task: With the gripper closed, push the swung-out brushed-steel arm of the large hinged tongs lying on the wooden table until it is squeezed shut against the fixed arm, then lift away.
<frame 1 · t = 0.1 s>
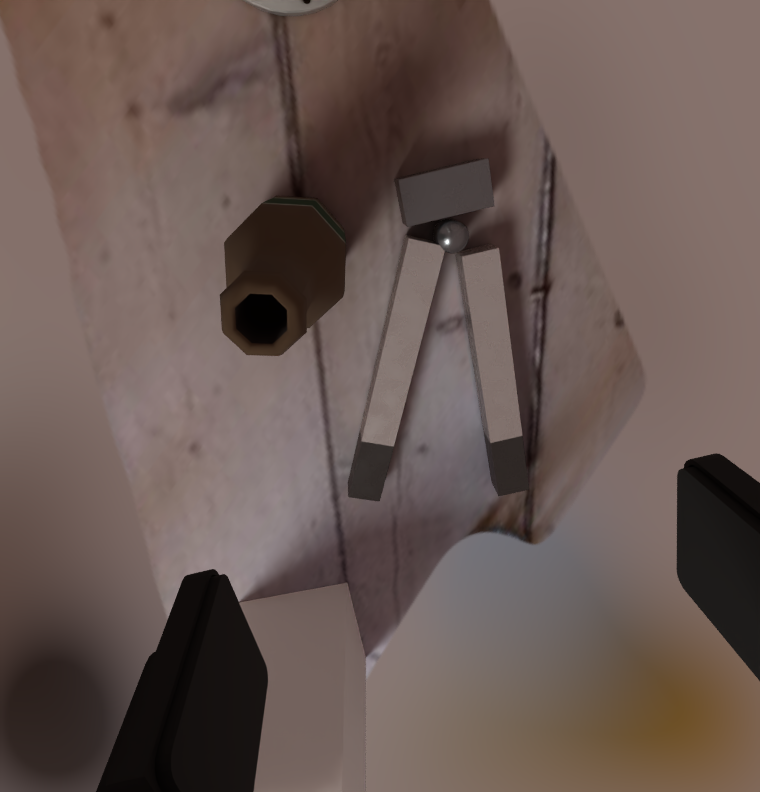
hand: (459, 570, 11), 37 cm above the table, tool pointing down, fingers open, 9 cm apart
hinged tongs: (446, 233, 44), on the table
tongs arm: (402, 369, 47), point 2 cm above the table, hinge at -25.0°
beer bottle: (299, 242, 44), on the table
milk: (304, 629, 60), on the table
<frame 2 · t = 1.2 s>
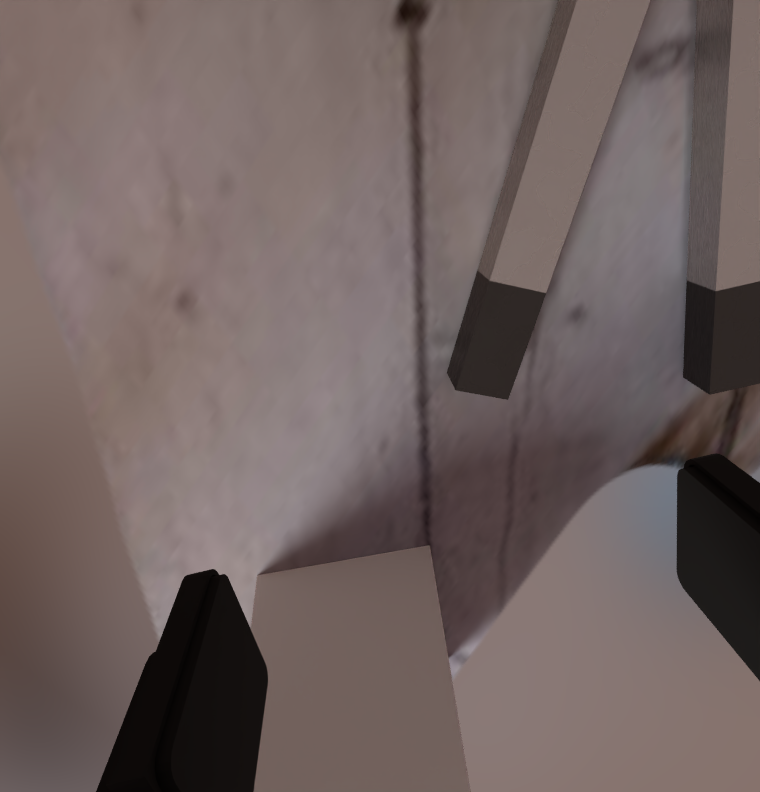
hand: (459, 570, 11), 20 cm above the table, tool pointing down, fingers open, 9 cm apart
tongs arm: (574, 138, 25), point 2 cm above the table, hinge at -25.0°
milk: (357, 617, 39), on the table
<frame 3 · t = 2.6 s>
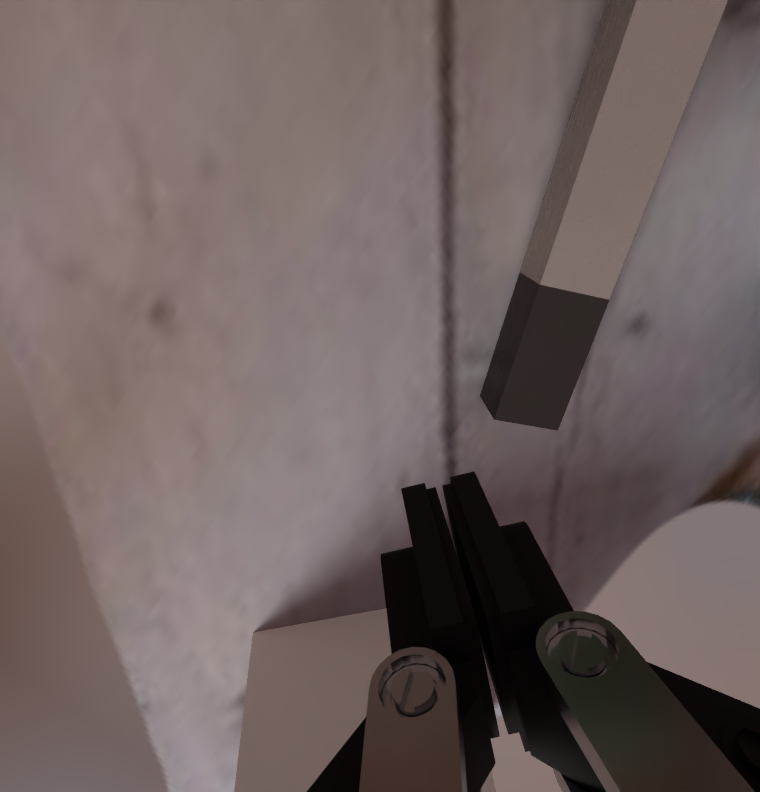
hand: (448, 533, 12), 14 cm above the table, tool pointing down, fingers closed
tongs arm: (649, 104, 20), point 2 cm above the table, hinge at -25.0°
milk: (370, 677, 34), on the table
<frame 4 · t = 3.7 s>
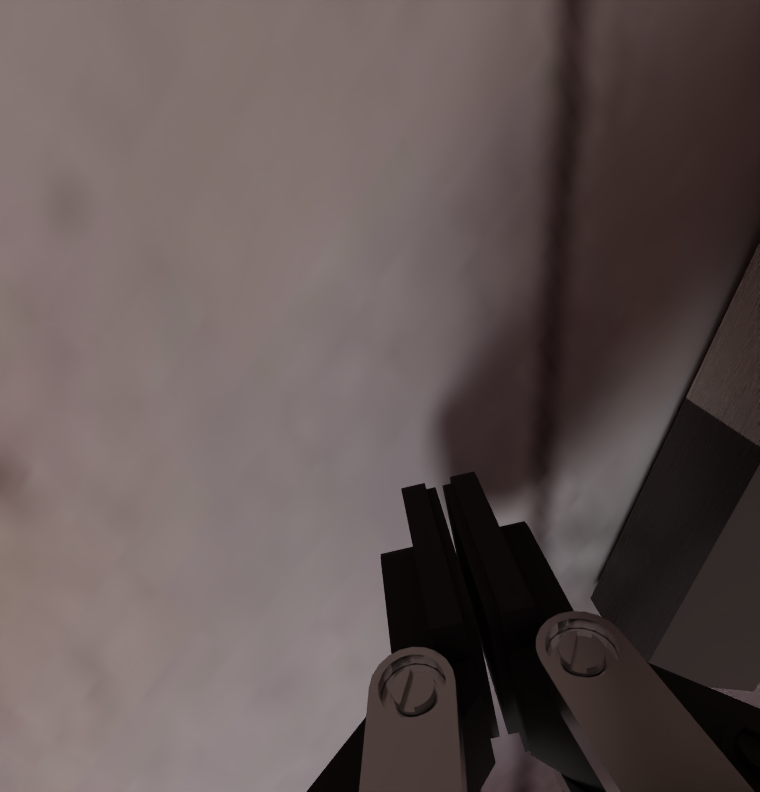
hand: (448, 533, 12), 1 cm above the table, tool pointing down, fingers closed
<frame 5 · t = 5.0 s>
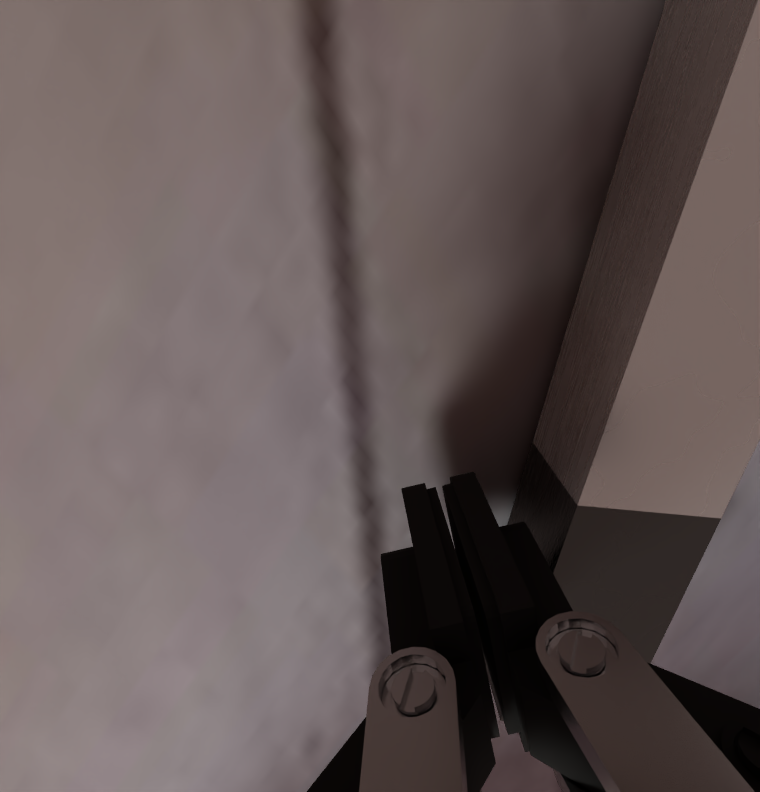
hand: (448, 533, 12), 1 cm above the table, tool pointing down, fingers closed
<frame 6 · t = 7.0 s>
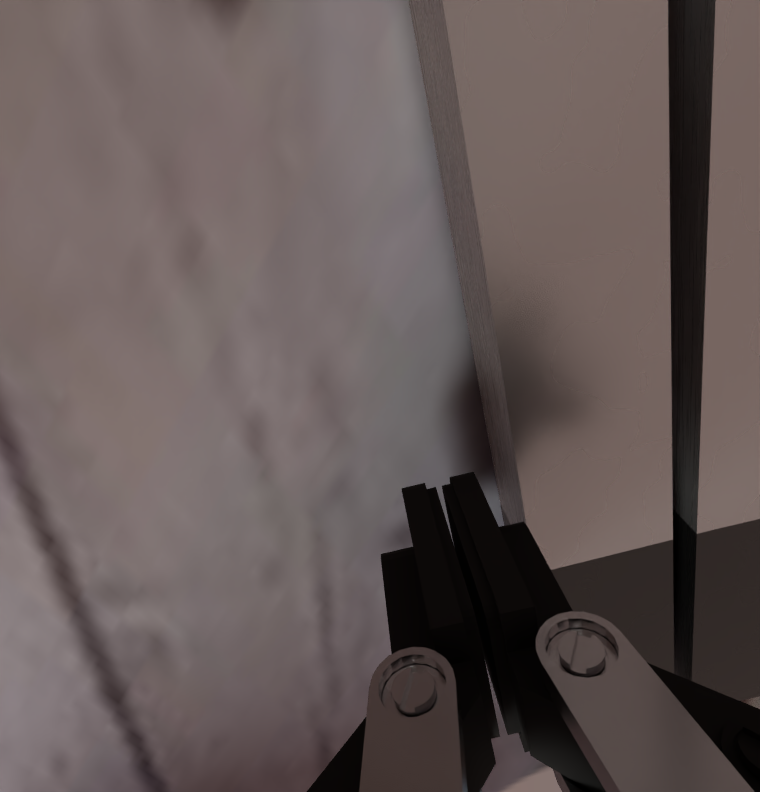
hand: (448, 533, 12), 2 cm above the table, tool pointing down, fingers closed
tongs arm: (590, 202, 9), point 2 cm above the table, hinge at 0.9°, touching gripper
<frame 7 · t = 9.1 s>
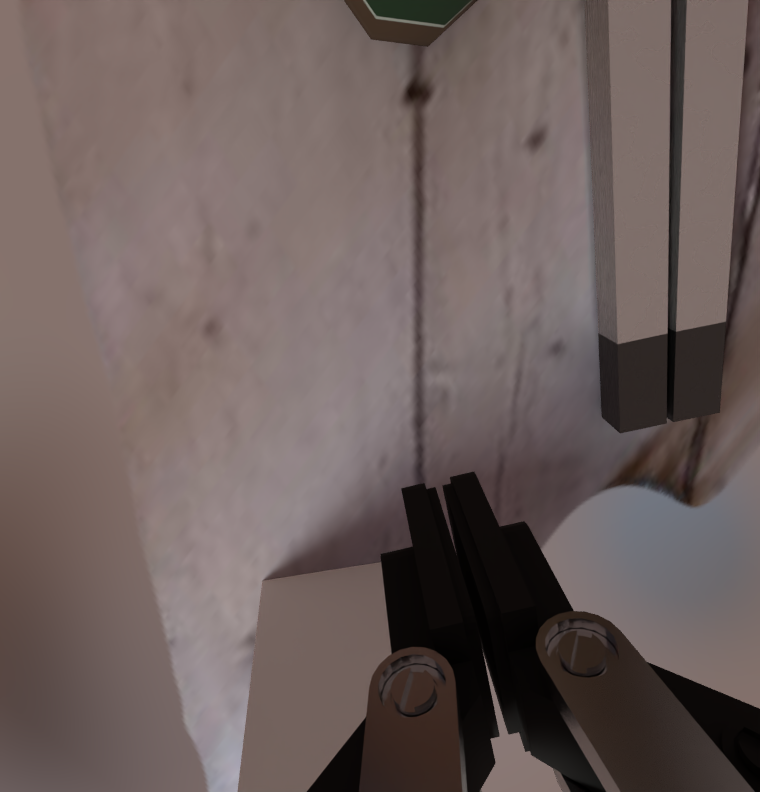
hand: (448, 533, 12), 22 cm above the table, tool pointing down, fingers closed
tongs arm: (643, 211, 30), point 2 cm above the table, hinge at 0.9°
milk: (354, 624, 42), on the table
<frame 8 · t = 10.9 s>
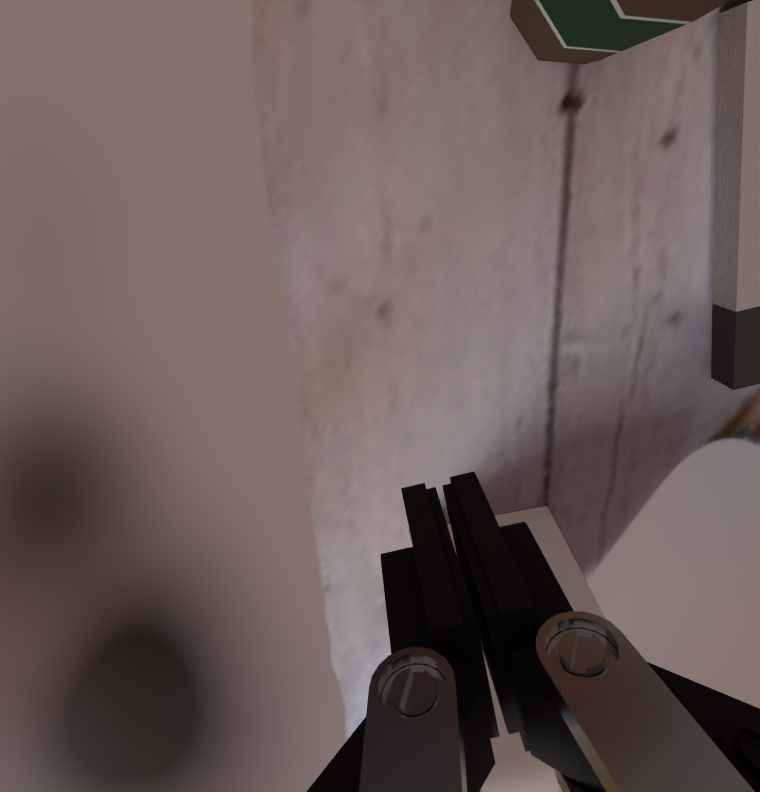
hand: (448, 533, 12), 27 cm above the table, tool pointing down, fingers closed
milk: (483, 569, 48), on the table
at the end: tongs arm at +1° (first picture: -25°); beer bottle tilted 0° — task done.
